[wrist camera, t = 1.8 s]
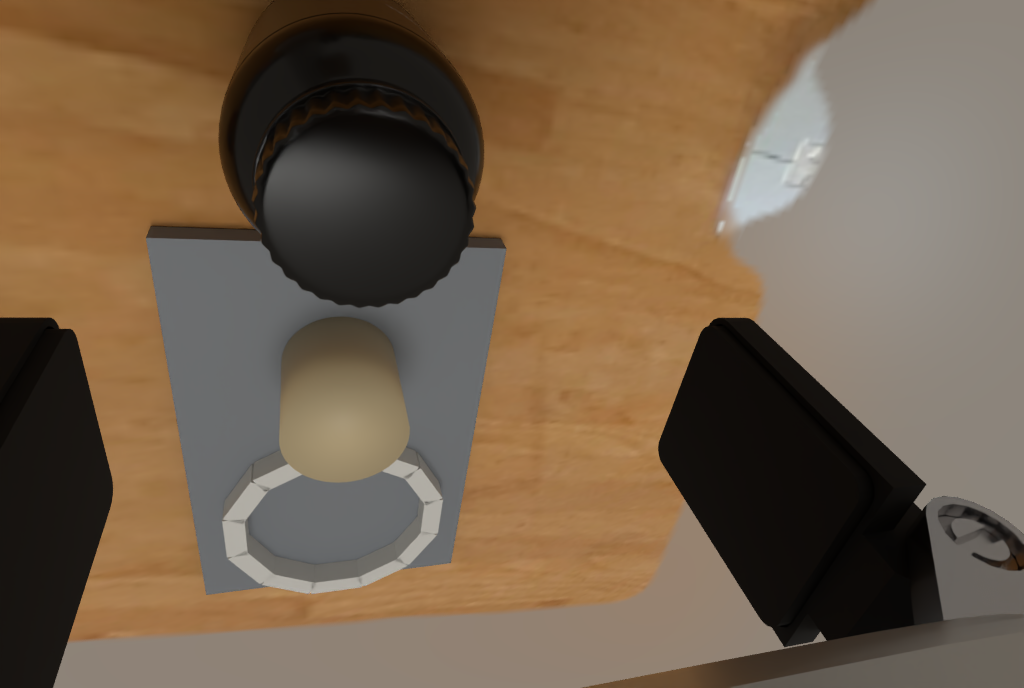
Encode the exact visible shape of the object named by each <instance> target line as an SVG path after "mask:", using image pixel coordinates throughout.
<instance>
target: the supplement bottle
mask: <svg viewBox="0 0 1024 688" xmlns="http://www.w3.org/2000/svg"><path fill="white" fill-rule="evenodd" d="M219 153H220V159H221V164H222V169H223V172H224V176H225V179H226V182H227V184H228V187H229V189H230V192H231V194H232V196H233V197H234V199H235V201H236V203H237V205H238V207H239V208H240V210H241V211H242V213H243V214H244V216H245V217H246V218H247V219H248V221H249V222H250V223H251V225H252V226H253V227H254V228H255V229H256V230H257V231H258V232H259V233H260V234H261V243H262V244H263V246H264V247H265V248H267V249H268V250H269V251H270V256H271V260H272V262H274V263H275V264H276V265H278V266H280V267H281V268H282V270H283V273H284V275H285V276H286V277H287V278H289V279H291V280H293V281H296V282H297V284H298V285H299V287H300V288H301V289H302V290H305V291H309V292H312V293H313V294H314V295H315V296H317V297H318V298H319V299H322V300H331V301H333V302H334V303H335V304H337V305H352V306H354V307H357V308H362V307H367V306H372V307H378V308H379V307H382V306H385V305H387V304H399V303H401V302H403V301H404V300H406V299H409V298H416V297H418V296H419V295H420V294H421V293H422V292H423V291H425V290H429V289H432V288H433V287H434V286H435V285H436V283H437V282H438V281H439V280H441V279H443V278H445V277H446V276H448V274H449V272H450V269H451V267H453V266H454V265H456V264H457V263H458V262H459V260H460V257H461V252H462V251H463V250H464V249H465V248H466V247H467V246H468V241H469V239H468V236H469V234H470V233H471V232H472V230H473V228H474V224H473V219H472V217H473V215H474V213H475V209H476V205H475V203H474V201H475V198H476V195H477V193H478V190H479V186H480V182H481V178H482V172H483V165H484V140H483V132H482V127H481V122H480V118H479V115H478V112H477V109H476V106H475V104H474V101H473V99H472V97H471V95H470V93H469V91H468V89H467V87H466V85H465V84H464V82H463V80H462V78H461V77H460V75H459V74H458V73H457V71H456V70H455V68H454V67H453V66H452V64H451V63H450V62H449V61H448V59H447V58H446V57H445V56H444V55H443V53H442V52H441V51H440V50H439V49H438V47H437V46H436V45H435V44H434V42H433V41H432V40H431V39H430V38H429V36H428V35H427V34H426V33H425V32H424V30H423V29H422V28H421V27H420V26H419V24H418V23H417V22H416V21H415V20H414V19H413V17H411V16H410V15H409V14H408V13H407V12H406V11H405V10H404V9H403V8H402V7H401V6H400V5H399V4H397V3H396V2H395V1H394V0H275V1H274V2H273V3H272V4H270V5H269V6H268V7H267V9H266V10H265V11H264V12H263V13H262V14H261V16H260V17H259V19H258V20H257V22H256V23H255V25H254V27H253V29H252V31H251V33H250V35H249V37H248V39H247V42H246V44H245V47H244V49H243V52H242V54H241V56H240V59H239V61H238V64H237V66H236V69H235V71H234V74H233V76H232V79H231V81H230V84H229V86H228V89H227V92H226V94H225V98H224V102H223V105H222V110H221V116H220V123H219Z"/></svg>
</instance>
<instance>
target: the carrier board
mask: <svg viewBox="0 0 1024 688" xmlns="http://www.w3.org/2000/svg"><path fill="white" fill-rule="evenodd" d="M468 239H469V241H468V246H467V247H466V248H465V249H464V250H463V251H462V252H461V257H460V260H459V262H458V263H457V264H456V265H454V266H453V267H451V269H450V272H449V274H448V276H446V277H445V278H443V279H441V280H439V281H438V282H437V283H436V285H435V286H434V287H433V288H432V289H429V290H425V291H423V292H422V293H421V294H420V295H419V296H418V297H416V298H409V299H406V300H404V301H403V302H401V303H399V304H387V305H385V306H382V307H379V308H378V307H372V306H367V307H362V308H357V307H354V306H352V305H337V304H335V303H334V302H333V301H331V300H322V299H319V298H318V297H317V296H315V295H314V294H313V293H312V292H309V291H305V290H302V289H301V288H300V287H299V285H298V284H297V282H296V281H293V280H291V279H289V278H287V277H286V276H285V275H284V273H283V270H282V268H281V267H280V266H278V265H276V264H275V263H274V262H272V260H271V256H270V251H269V250H268V249H267V248H265V247H264V246H263V244H262V243H261V234H260V233H259V232H258V231H257V230H242V229H214V228H185V227H157V226H151V227H150V230H149V232H148V234H147V237H146V241H147V247H148V252H149V258H150V264H151V270H152V276H153V282H154V288H155V294H156V300H157V306H158V312H159V317H160V323H161V329H162V335H163V341H164V347H165V353H166V359H167V365H168V371H169V377H170V382H171V388H172V394H173V400H174V406H175V412H176V418H177V424H178V430H179V436H180V442H181V447H182V453H183V459H184V465H185V471H186V477H187V483H188V489H189V495H190V501H191V506H192V512H193V518H194V524H195V530H196V536H197V542H198V548H199V554H200V560H201V566H202V571H203V577H204V583H205V589H206V595H209V594H216V593H224V592H232V591H239V590H247V589H255V588H263V587H275V588H280V589H286V590H291V591H296V592H301V593H306V594H309V593H310V592H311V594H315V593H322V592H330V591H337V590H344V589H352V588H359V587H362V585H363V586H366V585H368V584H370V583H372V582H375V581H377V580H379V579H381V578H383V577H385V576H387V575H390V574H392V573H394V572H396V571H398V570H401V569H408V568H416V567H424V566H431V565H439V564H447V563H451V558H452V553H453V547H454V541H455V536H456V530H457V524H458V519H459V513H460V507H461V502H462V496H463V491H464V485H465V479H466V474H467V468H468V462H469V457H470V451H471V445H472V440H473V434H474V429H475V423H476V417H477V412H478V406H479V400H480V395H481V389H482V383H483V378H484V372H485V367H486V361H487V355H488V350H489V344H490V338H491V333H492V327H493V322H494V316H495V310H496V305H497V299H498V293H499V288H500V282H501V276H502V271H503V265H504V260H505V254H506V247H505V245H504V244H503V242H502V240H501V239H498V238H470V237H468Z"/></svg>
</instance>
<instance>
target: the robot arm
mask: <svg viewBox="0 0 1024 688" xmlns="http://www.w3.org/2000/svg"><path fill="white" fill-rule="evenodd" d="M658 451H659V457H660V460H661V462H662V464H663V466H664V467H665V469H666V470H667V472H668V473H669V475H670V477H671V478H672V480H673V481H674V483H675V485H676V486H677V488H678V489H679V491H680V492H681V494H682V496H683V497H684V499H685V500H686V502H687V504H688V505H689V507H690V508H691V510H692V511H693V513H694V515H695V516H696V518H697V519H698V521H699V523H700V524H701V526H702V527H703V529H704V531H705V532H706V534H707V535H708V537H709V538H710V540H711V542H712V543H713V545H714V546H715V548H716V550H717V551H718V553H719V554H720V556H721V557H722V559H723V561H724V562H725V563H726V565H727V567H728V569H729V570H730V572H731V573H732V575H733V576H734V578H735V580H736V581H737V583H738V584H739V586H740V588H741V589H742V591H743V592H744V594H745V595H746V597H747V599H748V600H749V602H750V603H751V605H752V607H753V608H754V610H755V611H756V613H757V614H758V616H759V617H760V619H761V620H762V621H763V622H764V623H765V624H766V625H767V626H770V627H772V628H773V630H774V631H775V633H776V634H777V636H778V638H779V639H780V641H781V642H782V644H783V646H784V647H787V646H793V645H798V644H803V643H808V642H813V641H814V639H815V638H816V637H817V635H818V634H819V632H821V633H822V634H823V636H824V637H825V638H826V640H827V641H824V642H819V643H814V644H808V645H803V646H797V647H792V648H787V649H782V650H777V651H771V652H766V653H760V654H755V655H750V656H744V657H739V658H734V659H729V660H723V661H718V662H713V663H707V664H702V665H697V666H692V667H687V668H681V669H676V670H671V671H666V672H661V673H656V674H651V675H645V676H640V677H635V678H630V679H625V680H620V681H614V682H610V683H604V684H599V685H594V686H589V687H583V688H1024V534H1023V533H1022V532H1021V531H1020V530H1018V529H1017V528H1016V527H1015V526H1014V525H1012V524H1011V523H1010V522H1009V521H1007V520H1005V519H1004V518H1003V517H1001V516H999V515H998V514H996V513H995V512H993V511H991V510H989V509H987V508H985V507H983V506H980V505H978V504H976V503H974V502H971V501H968V500H964V499H961V498H958V497H947V496H942V497H937V498H933V499H932V500H931V501H930V502H929V503H928V504H927V505H926V506H925V507H924V509H923V510H922V511H921V509H919V507H917V506H916V505H915V504H914V503H913V502H914V501H915V499H916V498H917V496H918V495H919V494H920V492H921V491H922V490H923V488H924V487H925V485H926V484H925V482H923V481H922V480H921V479H920V478H919V477H918V476H917V475H916V474H915V473H914V472H913V471H912V470H911V469H910V468H909V467H908V466H906V465H905V464H904V463H903V462H902V461H901V460H900V459H899V458H898V457H897V456H896V455H895V454H894V453H893V452H892V451H890V449H889V448H887V447H886V446H885V445H884V444H883V443H882V442H881V441H880V440H879V439H878V438H877V437H876V436H875V435H873V433H872V432H870V431H869V430H868V429H867V428H866V427H865V426H864V425H863V424H862V423H861V422H860V421H859V420H858V419H856V417H855V416H854V415H852V414H851V413H850V412H849V411H848V410H847V409H846V408H845V407H844V406H843V405H842V404H841V403H840V402H839V401H838V400H837V399H836V398H834V397H833V396H832V395H831V394H830V393H829V392H828V391H827V390H826V389H825V388H824V387H823V386H822V385H820V383H819V382H817V381H816V380H815V379H814V378H813V377H812V376H811V375H810V374H809V373H808V372H807V371H806V370H805V369H804V368H803V367H802V366H801V365H800V364H798V363H797V362H796V361H795V360H794V359H793V358H792V357H791V356H790V355H789V354H788V353H787V352H786V351H785V350H784V349H783V348H782V347H780V346H779V345H778V344H777V343H776V342H775V341H774V340H773V339H772V338H771V337H770V336H769V335H768V334H767V333H766V332H764V330H762V329H761V328H760V327H759V326H758V325H757V324H756V323H755V322H754V321H752V320H751V319H749V318H717V319H714V320H713V321H712V322H711V323H710V325H709V326H708V327H705V328H704V329H703V330H702V332H701V334H700V336H699V339H698V341H697V344H696V346H695V349H694V352H693V354H692V357H691V360H690V362H689V365H688V367H687V370H686V373H685V375H684V378H683V380H682V383H681V386H680V388H679V391H678V394H677V396H676V399H675V401H674V404H673V407H672V409H671V412H670V414H669V417H668V420H667V422H666V425H665V428H664V430H663V433H662V435H661V438H660V441H659V446H658ZM112 496H113V482H112V476H111V472H110V468H109V464H108V460H107V456H106V452H105V448H104V444H103V440H102V436H101V432H100V428H99V425H98V421H97V417H96V413H95V409H94V405H93V401H92V397H91V393H90V389H89V385H88V381H87V377H86V373H85V369H84V365H83V361H82V357H81V353H80V349H79V345H78V341H77V338H76V335H75V333H74V332H73V330H71V329H59V326H58V324H57V323H56V321H55V320H54V319H52V318H0V688H53V685H54V682H55V679H56V676H57V673H58V670H59V667H60V664H61V660H62V657H63V654H64V651H65V648H66V645H67V642H68V639H69V635H70V632H71V629H72V626H73V623H74V620H75V617H76V614H77V610H78V607H79V604H80V601H81V598H82V595H83V592H84V588H85V585H86V582H87V579H88V576H89V573H90V570H91V567H92V563H93V560H94V557H95V554H96V551H97V548H98V545H99V541H100V538H101V535H102V532H103V529H104V526H105V523H106V520H107V516H108V513H109V510H110V507H111V503H112Z"/></svg>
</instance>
